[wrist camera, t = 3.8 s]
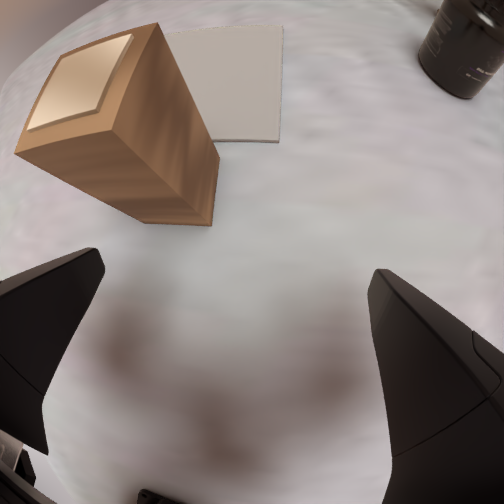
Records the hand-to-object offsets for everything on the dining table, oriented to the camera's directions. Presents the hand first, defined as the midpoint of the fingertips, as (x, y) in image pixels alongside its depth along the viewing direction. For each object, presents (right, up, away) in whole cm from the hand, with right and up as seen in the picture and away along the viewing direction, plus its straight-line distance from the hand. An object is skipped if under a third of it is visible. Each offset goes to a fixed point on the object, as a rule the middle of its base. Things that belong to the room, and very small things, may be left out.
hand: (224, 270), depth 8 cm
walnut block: (-4, +4, +9) cm, 10 cm away
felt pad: (-3, +14, +10) cm, 18 cm away
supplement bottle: (+19, +17, +9) cm, 27 cm away
